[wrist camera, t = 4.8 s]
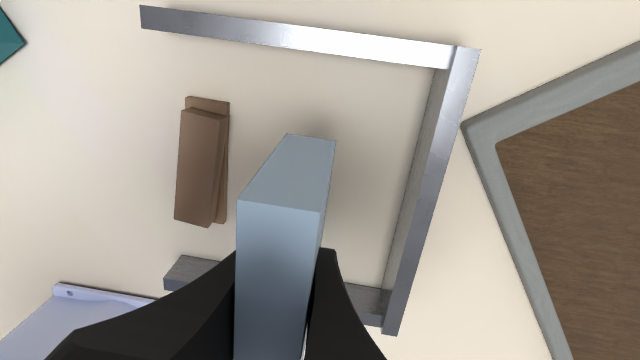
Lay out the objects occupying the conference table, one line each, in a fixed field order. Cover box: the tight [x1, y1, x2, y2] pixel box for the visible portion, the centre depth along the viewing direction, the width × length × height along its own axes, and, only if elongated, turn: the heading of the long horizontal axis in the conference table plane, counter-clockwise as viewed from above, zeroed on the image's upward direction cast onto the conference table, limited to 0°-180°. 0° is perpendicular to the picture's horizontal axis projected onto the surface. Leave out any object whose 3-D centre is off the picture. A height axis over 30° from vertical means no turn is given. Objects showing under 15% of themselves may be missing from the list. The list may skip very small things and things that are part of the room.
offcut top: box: [174, 107, 228, 228], centre depth 20 cm, size 2×7×1 cm, turn 166°
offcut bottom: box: [185, 96, 229, 224], centre depth 21 cm, size 2×8×1 cm, turn 172°
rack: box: [139, 5, 481, 337], centre depth 19 cm, size 16×17×3 cm
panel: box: [233, 133, 336, 360], centre depth 12 cm, size 2×9×6 cm, turn 173°
